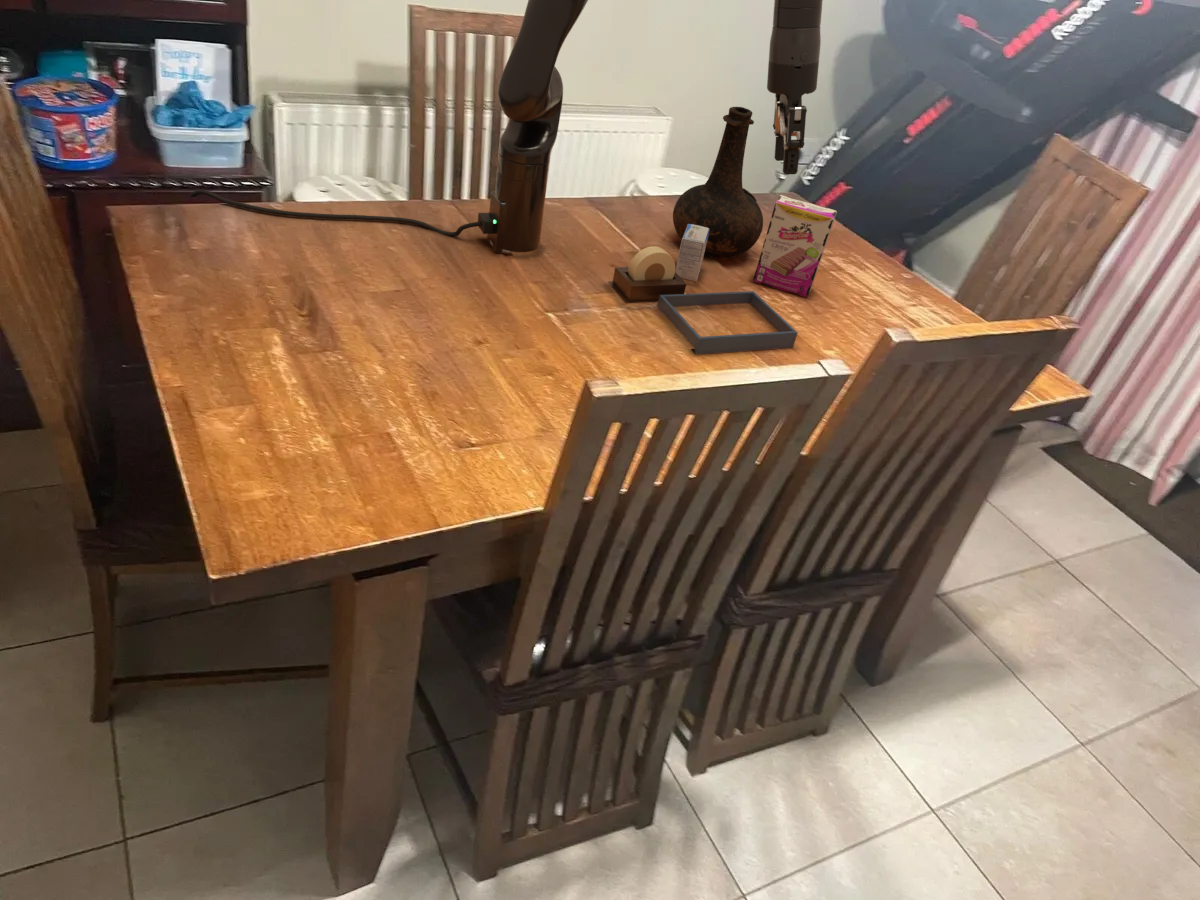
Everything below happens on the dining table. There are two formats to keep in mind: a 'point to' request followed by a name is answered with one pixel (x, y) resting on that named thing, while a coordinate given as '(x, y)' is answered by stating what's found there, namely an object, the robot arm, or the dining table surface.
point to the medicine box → (692, 252)
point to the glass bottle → (724, 196)
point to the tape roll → (651, 265)
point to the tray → (728, 341)
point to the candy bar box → (794, 245)
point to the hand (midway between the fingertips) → (785, 166)
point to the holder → (644, 287)
